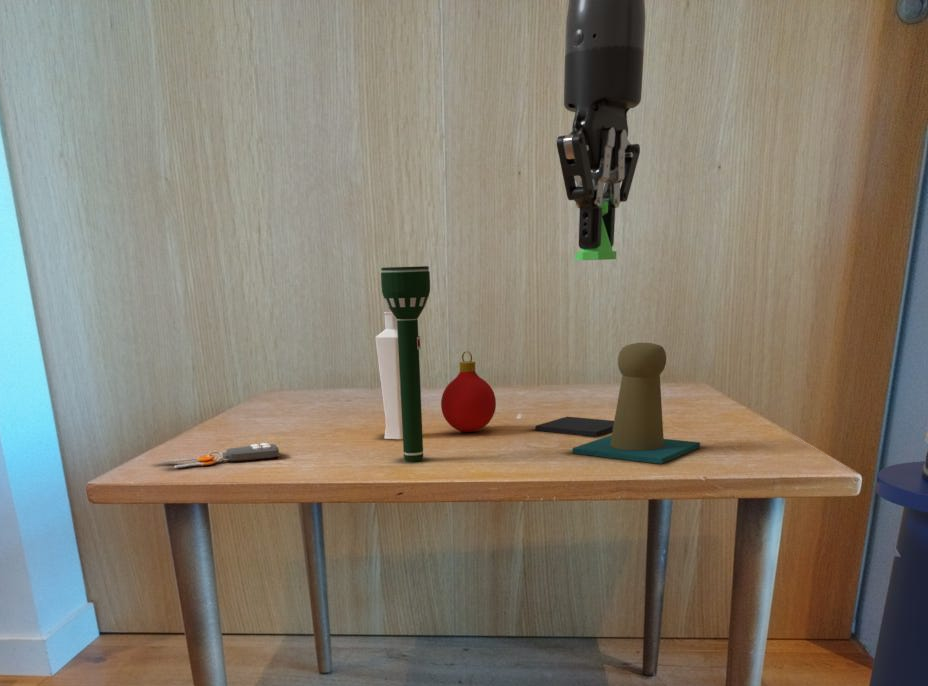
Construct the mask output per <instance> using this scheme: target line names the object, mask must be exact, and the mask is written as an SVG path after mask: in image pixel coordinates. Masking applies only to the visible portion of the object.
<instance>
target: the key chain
mask: <svg viewBox="0 0 928 686" xmlns="http://www.w3.org/2000/svg"><path fill="white" fill-rule="evenodd" d="M213 454H218V455H220V457H217V458H215V455H213ZM279 456H280V449H279V447H278V446H277V445H276V444H274V443H269V442H262V443H260V444H259V443H252V444H250V445H248V446H238V447H232V448H227V449H226V451H225V452H221V451H219V450H211V451H209V452H207V454H206V455H201V456H199V457H192V458H191V457H190V458H179V459H172V460H163V461H162V463H163V464H166V463H178V462H179V463H180V462H188V461H189V462H190V461H196V462H190V463H182V464H176V465H174V466H173V468H175V469H181V468H189V467H194V466H209V465H213V464H215V463H220V462H222V461H223V460H228V461H229V462H242V461H243V462H244V461H253V460H262V459H263V460H264V459H273V458H277V457H279Z"/></svg>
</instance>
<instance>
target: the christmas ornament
mask: <svg viewBox="0 0 928 686" xmlns="http://www.w3.org/2000/svg"><path fill="white" fill-rule="evenodd" d="M466 353H467V354H469V356H470V360H469V361H467V360H466V361H465V359H464V357H465V354H466ZM461 360H462V361H460V362H459V373H458V374H457V376H456V377H454V379H452V380H451V381H450V382H449V383H448V384H447V385H446V387H445V389H444V390H443V392H442V395H441V401H440V408H441V413H442V415H443V418H444V419H445V421H446V422H447V424H448V425H450V426H451V427H452V428H453V429H455V430H457V431H460V432H462V433H474V432H478V431H480V430H482V429H484V428H485V427H487V425H488V424H490V422H491V421H492V419H493V418H494V415H495V412H496V406H497V401H496V400H497V399H496V395H495V392H494V390H493V388H492V387H491V385H490V384H489V383H488V382H487V381H486V380H484V379H483V378H482V377H480V376H479V375H478V373H477V371H476V361H473V355H472V353H471V352H470V351H468V350H467V351H464V352H463V353H462V355H461Z"/></svg>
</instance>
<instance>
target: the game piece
mask: <svg viewBox="0 0 928 686" xmlns="http://www.w3.org/2000/svg"><path fill="white" fill-rule="evenodd" d="M598 208H602V216H603V215H605V214H606V213H608V202H607V201H606V200H604V199H603V201H602V205H601V206H600V207H598ZM605 260H606V261H607V260H608V261H609V260H617V251H615V250H613V246H612V247H611V244H610V241H609V237H608V234H607V231H606V228H605V225H604V221H603V218H602V225H601V244H600V246H599V247H597V248H594V249H581V248H579V252H577V251H576V252H574V261H605Z"/></svg>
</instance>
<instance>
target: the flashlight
mask: <svg viewBox="0 0 928 686" xmlns="http://www.w3.org/2000/svg"><path fill="white" fill-rule="evenodd" d="M380 268H381V270H380V271H381V273H380V278H381V279H380V284H381V286H380V287H381V292H382V296H383V299H384V302H385V303H386V306H387V307H388V309H389V310H390V312H392V313H393V314H394V316H395V317H396V318H397V331H398V350H399V370H400V390H401V410H402V430H403V439H402V447H403V448H402V449H403V459H404V460H405V461H406V462H409V463H416V462H421V461H422V460H423V458H424V438H423V415H422V391H421V390H422V388H421V366H420V365H421V364H420V350H421V335H420V336H419V317H420V315H421V314H422V312H423V311H424V309H425V307H426V306H427V303H428V300H429V297H430V292H431V274H430V270H429V269H430V267H429V266H428V265H426V266H425V265H423V266H419V265H418V266H396V267H395V266H391V267H390V266H389V267H380Z"/></svg>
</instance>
